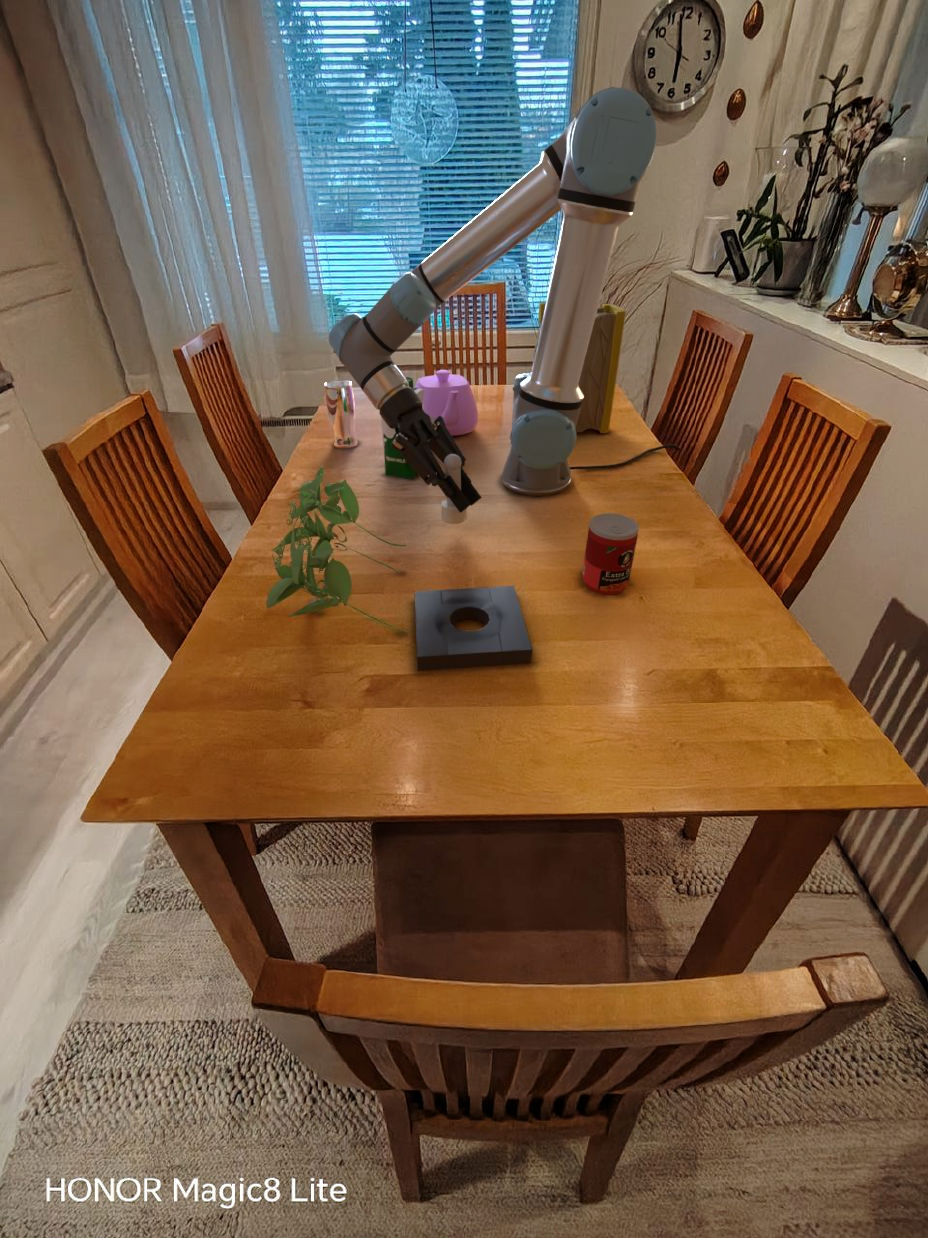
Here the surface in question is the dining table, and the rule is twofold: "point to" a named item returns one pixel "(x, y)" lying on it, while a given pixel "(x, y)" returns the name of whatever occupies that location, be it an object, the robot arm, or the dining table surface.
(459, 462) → the white peg with base
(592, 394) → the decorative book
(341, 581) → the plant cuttings
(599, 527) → the canned food
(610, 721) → the dining table surface
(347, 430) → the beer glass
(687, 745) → the dining table surface
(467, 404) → the teapot
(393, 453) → the milk carton
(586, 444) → the dining table surface
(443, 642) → the plate
